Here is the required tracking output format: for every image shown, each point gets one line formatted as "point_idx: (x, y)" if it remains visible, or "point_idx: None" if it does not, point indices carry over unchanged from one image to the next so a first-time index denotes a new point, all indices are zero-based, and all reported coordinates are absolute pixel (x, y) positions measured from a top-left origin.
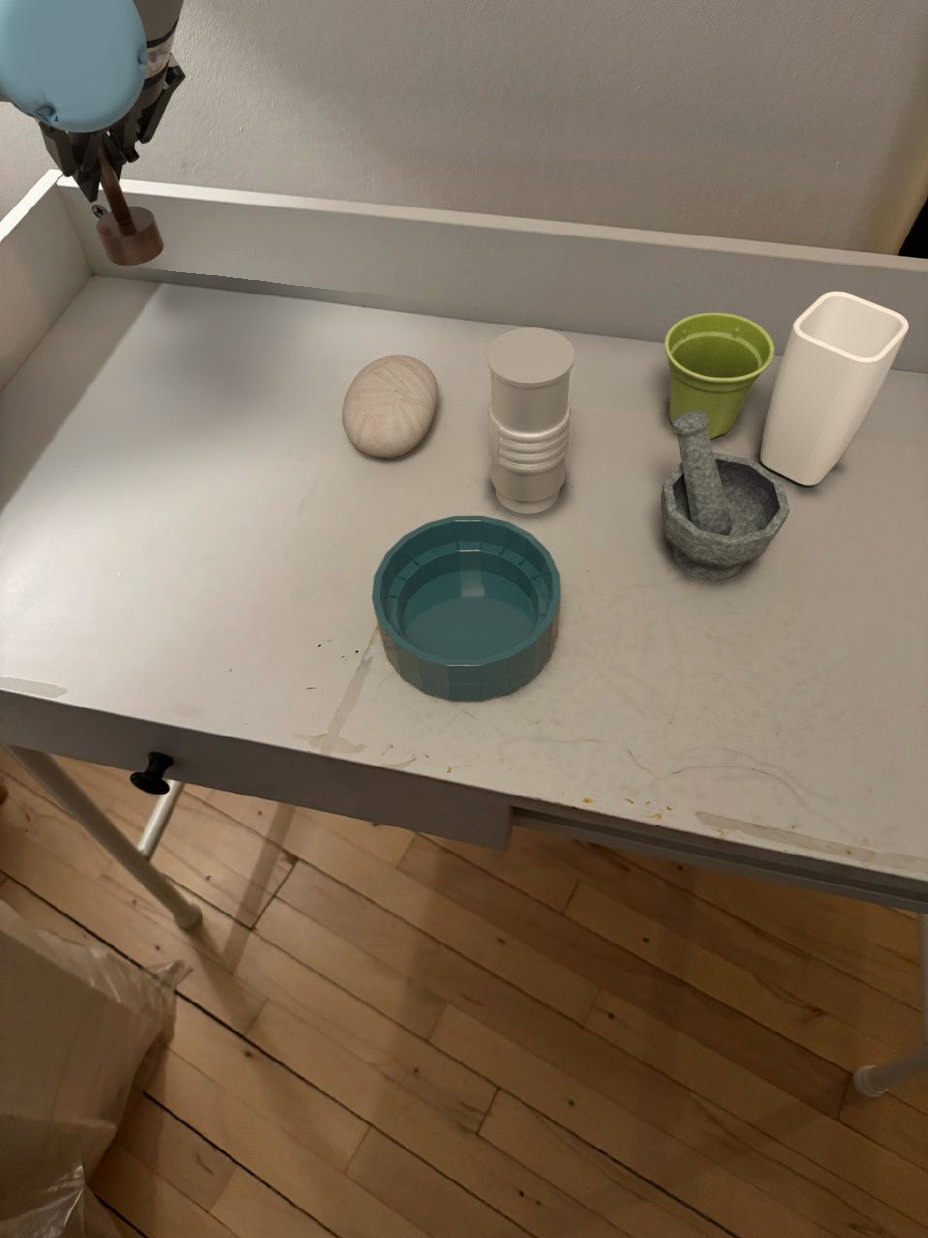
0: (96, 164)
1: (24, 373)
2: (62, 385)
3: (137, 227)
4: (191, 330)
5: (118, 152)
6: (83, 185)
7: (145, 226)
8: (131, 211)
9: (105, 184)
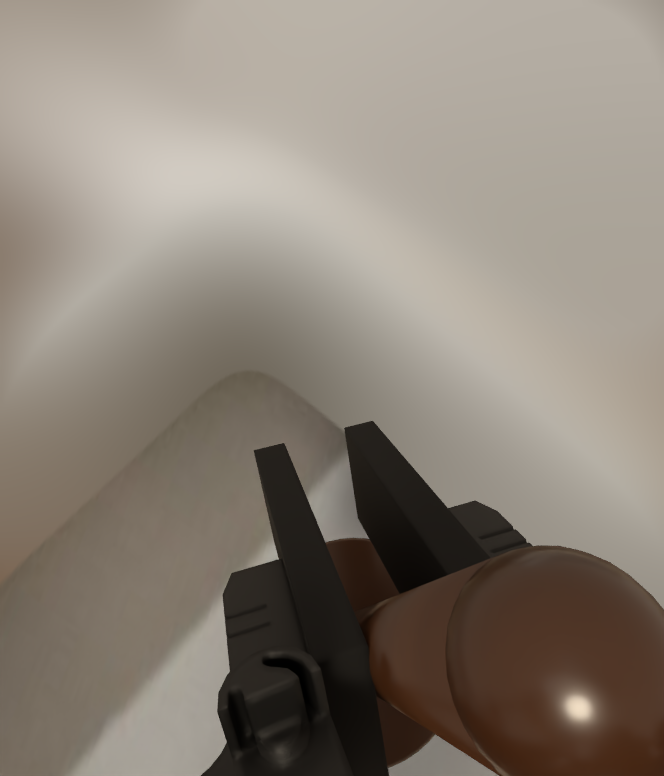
0: (371, 770)
1: (11, 588)
2: (60, 684)
3: (391, 725)
4: None
5: None
6: (274, 536)
7: (420, 733)
8: (393, 586)
9: None
